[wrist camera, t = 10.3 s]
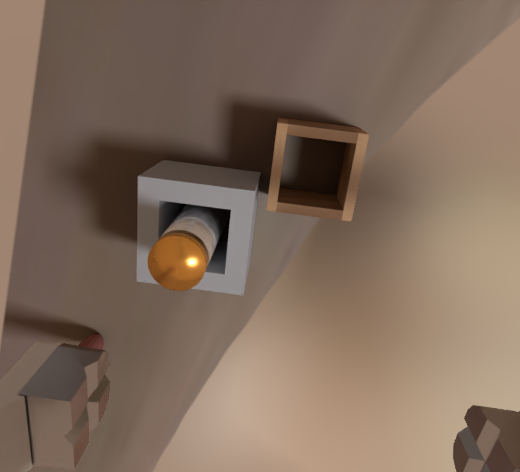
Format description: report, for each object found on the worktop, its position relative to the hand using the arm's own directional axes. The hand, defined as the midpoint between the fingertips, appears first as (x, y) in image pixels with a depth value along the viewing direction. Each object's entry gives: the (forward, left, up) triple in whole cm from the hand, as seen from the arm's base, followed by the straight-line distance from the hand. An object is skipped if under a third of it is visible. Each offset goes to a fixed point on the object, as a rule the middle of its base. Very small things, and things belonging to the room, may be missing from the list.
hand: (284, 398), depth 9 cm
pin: (+6, -7, -30) cm, 31 cm away
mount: (0, +2, -30) cm, 30 cm away
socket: (+6, -7, -30) cm, 31 cm away
